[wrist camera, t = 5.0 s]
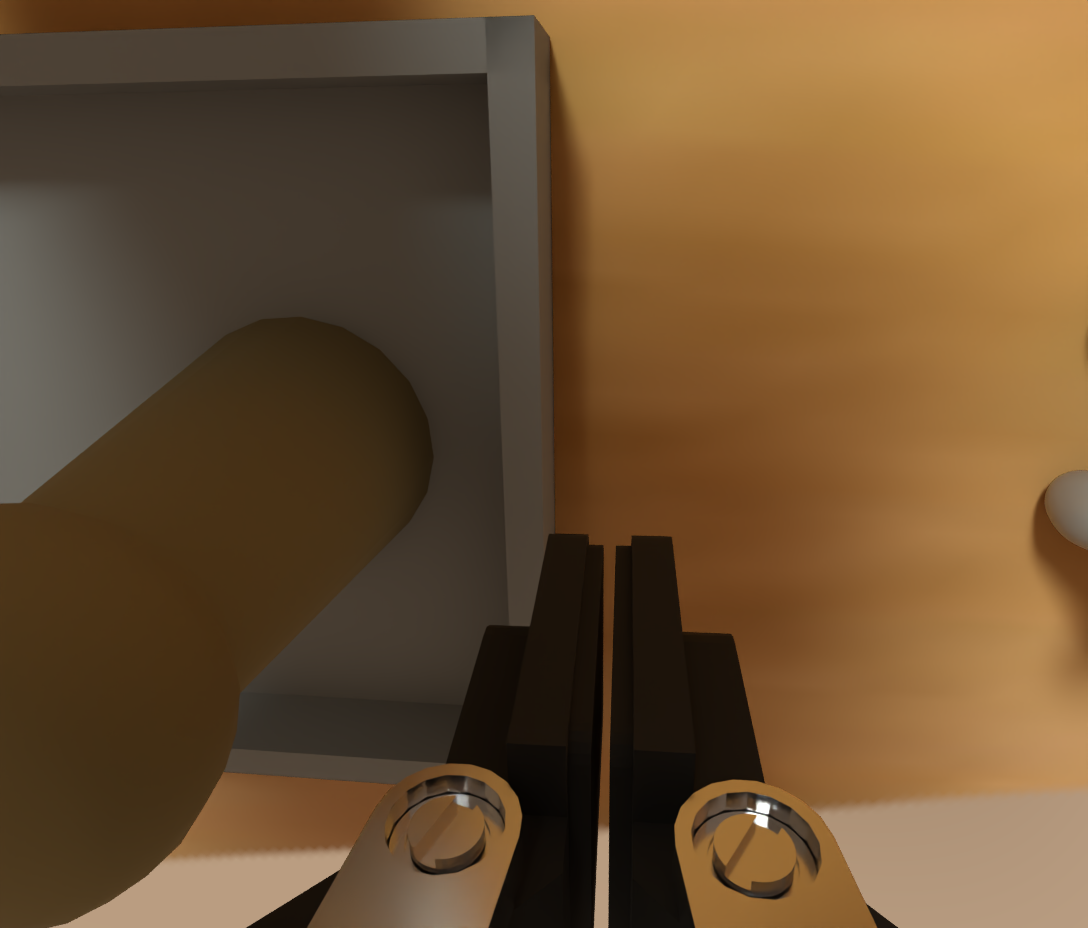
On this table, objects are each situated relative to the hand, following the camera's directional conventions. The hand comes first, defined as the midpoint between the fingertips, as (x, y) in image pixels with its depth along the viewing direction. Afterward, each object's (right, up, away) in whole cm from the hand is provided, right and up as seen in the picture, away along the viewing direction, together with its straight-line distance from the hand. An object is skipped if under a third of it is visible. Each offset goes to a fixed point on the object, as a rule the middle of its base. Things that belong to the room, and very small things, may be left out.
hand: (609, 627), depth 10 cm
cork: (-6, +3, +8) cm, 10 cm away
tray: (-12, +3, +8) cm, 15 cm away
